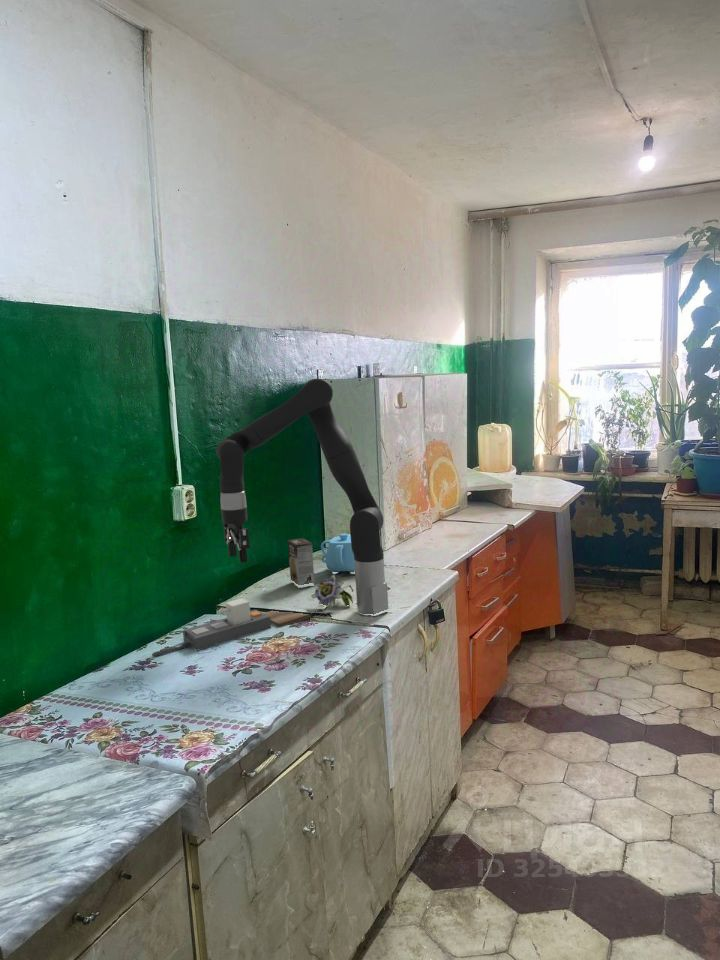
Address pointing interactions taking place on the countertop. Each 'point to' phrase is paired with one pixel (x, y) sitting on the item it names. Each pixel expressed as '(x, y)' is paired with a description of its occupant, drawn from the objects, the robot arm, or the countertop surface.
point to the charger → (237, 611)
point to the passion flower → (332, 592)
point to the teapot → (339, 554)
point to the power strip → (220, 632)
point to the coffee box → (301, 561)
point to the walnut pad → (285, 617)
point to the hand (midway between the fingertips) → (237, 559)
